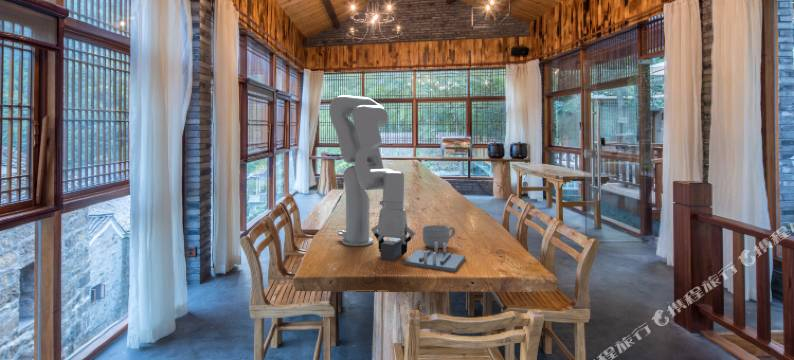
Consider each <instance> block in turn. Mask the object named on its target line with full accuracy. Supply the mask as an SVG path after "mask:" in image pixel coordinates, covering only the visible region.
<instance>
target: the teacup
mask: <svg viewBox="0 0 794 360" xmlns="http://www.w3.org/2000/svg"><path fill="white" fill-rule="evenodd" d="M451 230H452V232H451V233H450V231H451ZM455 234H456V229H455V228H454V227H453V226H447V225H438V224H436V225H435V224H433V225H431V224H430V225H425V226H422V242H423V244H424V245H425V246H427V248H430V249H435V242H438V249H443V243H446V246H447V245H448V244H449V240H450V239H452V237H454V235H455Z"/></svg>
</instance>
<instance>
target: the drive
mask: <svg viewBox="0 0 794 360" xmlns="http://www.w3.org/2000/svg"><path fill="white" fill-rule="evenodd" d="M402 244H403V243H402V241H401V239H400V238H392V237H388V239H386V240H384V242H383V243H381V252H380V260H381V261H386V260H387V261H388V262H395V261H396V260H398V259H399V258H400V257H402V256H403V255H402V254H401V245H402ZM398 257H399V258H398ZM394 260H395V261H394Z"/></svg>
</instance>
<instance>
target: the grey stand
mask: <svg viewBox="0 0 794 360" xmlns="http://www.w3.org/2000/svg"><path fill="white" fill-rule="evenodd" d="M465 260H466V255H464V254H463V255H462V254H456V253H454V254H453V253H451V252H447V245H446V243H443V248H442V252H440V251H439V248H438V242H435V248H434V251H433V250H429V249H427V250H426V249H417V250H416V251H415V252H413V253H412V254H411V255H409V256H408V257H406V259H405V260H404V261H403V265H404V264H407V265H406V266H411V265H413V267H418V266H420V267H419V268H425V267H427V268H426V269H431V268H433V270H438V269H440V271H445V270H446V271H445V272H454V273H455V272H456V271H457V270H458V269H459V268H460V266H461V265H462V263H463V262H464V261H465Z"/></svg>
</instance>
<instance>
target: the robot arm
mask: <svg viewBox="0 0 794 360" xmlns="http://www.w3.org/2000/svg"><path fill="white" fill-rule="evenodd" d="M329 117H330V121H331V123H332V126H333V127H334V130H335V133H336V136H337V141H338V145H339V149H340V153H341V156H342V159H343V161H344V162H345V163H347V164H354V165H351V166H348V167H347V168H345V170H344V171H343V175H342V178H343V186H344V191H345V230H341V229H339V230H338V231H337V236H338V237H342V239H341V242H342V244H343V245H345V246H350V247H365V246H369V245H372V244H373V243H374V239H373V238H372V237H370V197H369V195H368V193H367V192H366V191H375V190H382V200H380V201H379V205H380V206H381V208H380V210H379V215H378V223H377V225H375V226H373V227H372V228H371V232H372V233H373V236H374V238H376V241H378V242H377V243H378V244H377V245H378V246H377V247H378V249H379V250H378V252H379V253H381V243H383V242H384V241H385V239H384V238H391V237H392V238H400V239H401V241H402V243H403V244H402V245H401V254H402V255H401V256H404V255H405V254H407V251H408V243H409V242H410V241H411V240H413V237H414V236H415V235H416V232H415V231H413V229H412V228H410V227H409V226H408V219H407V218H408V217H407V212H406V209H405V208H404V207H405V206H404V205H405V174H404V173H403V172H402V171H400V170H392V169H390V168H384V163H383V160H382V156H381V152H380V148H379V147H380V146H381V145H382V143H383V140H382V136H381V132H380V129H379V128H384V127H386V126H387V124H388V121H389V115H388V112H387V110H386V108H385V107H384V106H383V105H381V104H380V103H378V102H376V101H375V100H373V99H372V98H369V97H366V96H354V95H339V96H336V97H334V98H332V100H331V102H330V104H329ZM350 118H352V120H353V122H352V121H351V119H350ZM407 235H408V236H407Z"/></svg>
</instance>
